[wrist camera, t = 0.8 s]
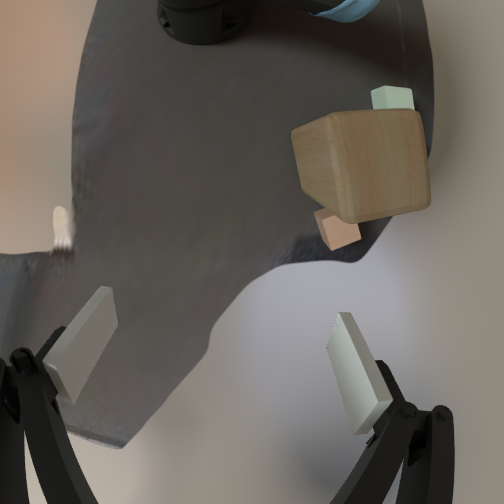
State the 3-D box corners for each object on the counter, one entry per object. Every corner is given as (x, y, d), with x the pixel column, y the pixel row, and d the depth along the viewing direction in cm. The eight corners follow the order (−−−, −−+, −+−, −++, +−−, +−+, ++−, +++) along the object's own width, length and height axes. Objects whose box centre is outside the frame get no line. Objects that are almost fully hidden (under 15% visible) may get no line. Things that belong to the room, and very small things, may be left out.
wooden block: (349, 121, 37) (423, 107, 19) (360, 182, 41) (435, 210, 22) (288, 129, 38) (325, 112, 19) (301, 193, 41) (345, 229, 23)
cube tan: (313, 212, 43) (321, 220, 38) (341, 201, 42) (353, 207, 37) (322, 240, 44) (331, 250, 40) (349, 229, 44) (361, 238, 39)
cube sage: (370, 91, 35) (384, 85, 31) (395, 93, 35) (411, 89, 31) (374, 119, 37) (389, 117, 33) (399, 121, 37) (415, 119, 32)
